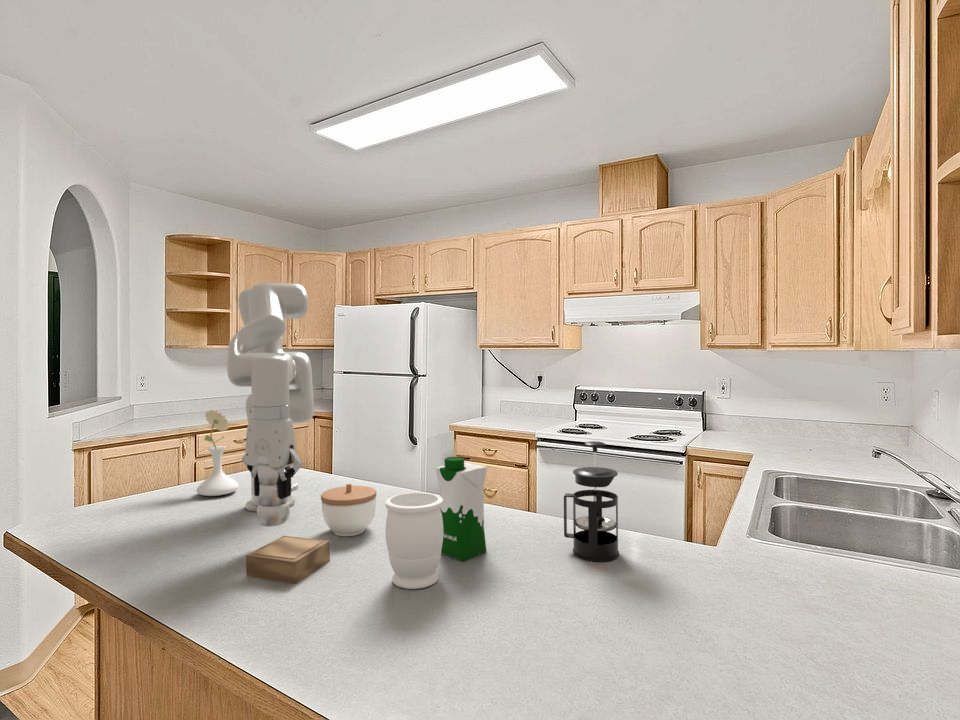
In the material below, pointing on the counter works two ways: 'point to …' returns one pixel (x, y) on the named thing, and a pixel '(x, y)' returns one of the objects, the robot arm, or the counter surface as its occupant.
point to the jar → (414, 538)
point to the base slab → (288, 559)
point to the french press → (594, 514)
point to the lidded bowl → (348, 509)
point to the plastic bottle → (270, 495)
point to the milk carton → (462, 508)
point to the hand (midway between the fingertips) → (272, 494)
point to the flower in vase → (217, 461)
